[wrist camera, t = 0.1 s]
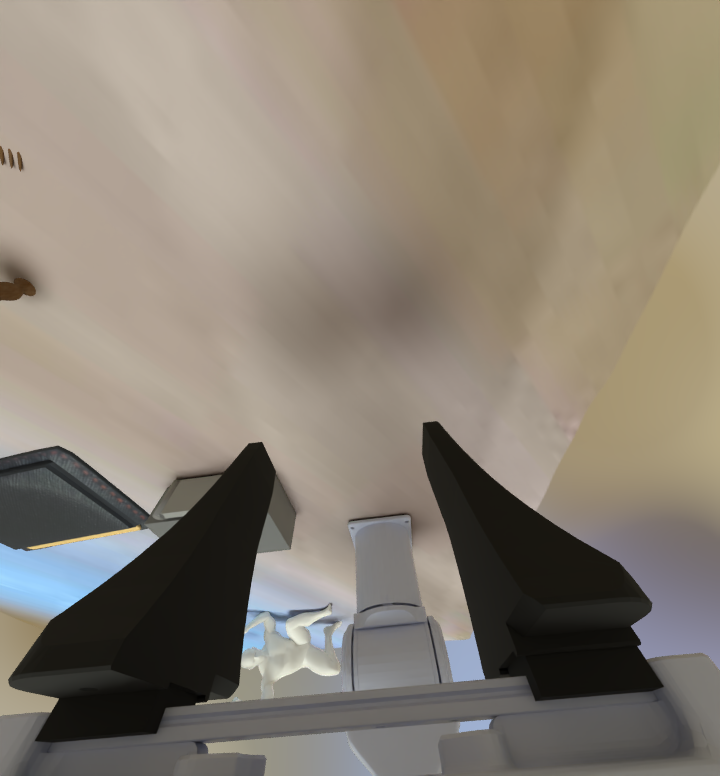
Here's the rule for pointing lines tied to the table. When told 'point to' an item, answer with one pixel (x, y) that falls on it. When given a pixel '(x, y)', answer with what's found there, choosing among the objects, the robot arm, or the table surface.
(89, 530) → the wallet
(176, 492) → the side hatch
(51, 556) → the table surface
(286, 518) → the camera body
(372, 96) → the table surface
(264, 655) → the person figurine
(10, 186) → the table surface
